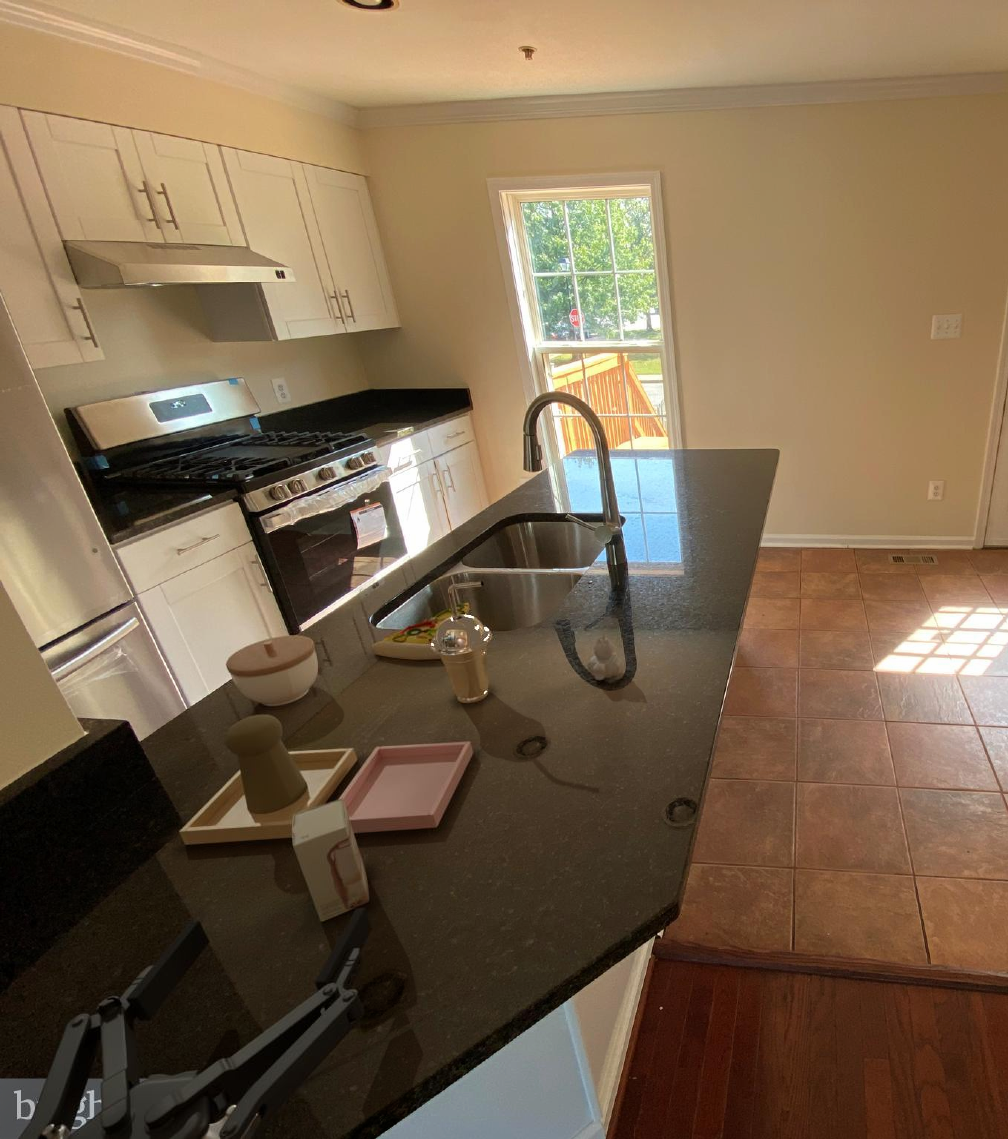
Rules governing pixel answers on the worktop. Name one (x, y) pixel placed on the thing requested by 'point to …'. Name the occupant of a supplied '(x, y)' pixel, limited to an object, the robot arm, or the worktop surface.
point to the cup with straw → (464, 650)
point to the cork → (265, 764)
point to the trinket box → (275, 669)
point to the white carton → (330, 859)
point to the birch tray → (236, 823)
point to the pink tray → (405, 786)
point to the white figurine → (604, 660)
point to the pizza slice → (415, 638)
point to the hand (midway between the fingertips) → (283, 924)
